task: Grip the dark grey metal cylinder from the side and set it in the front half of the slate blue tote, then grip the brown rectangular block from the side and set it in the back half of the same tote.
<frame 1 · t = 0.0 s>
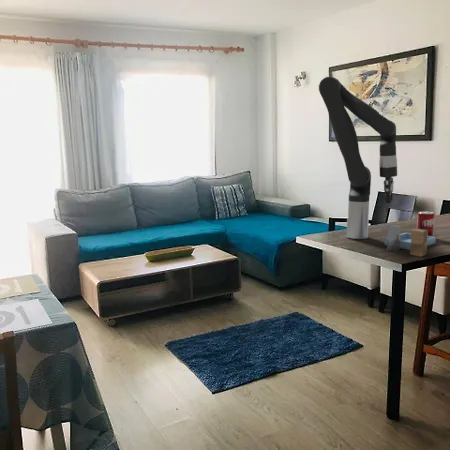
hand: (389, 202, 227), 17 cm above the table, tool pointing down, fingers open, 8 cm apart
tote: (409, 244, 219), on the table
brown rectangular block: (418, 254, 202), on the table
metal cylinder: (393, 249, 210), on the table
soda can: (424, 238, 231), on the table
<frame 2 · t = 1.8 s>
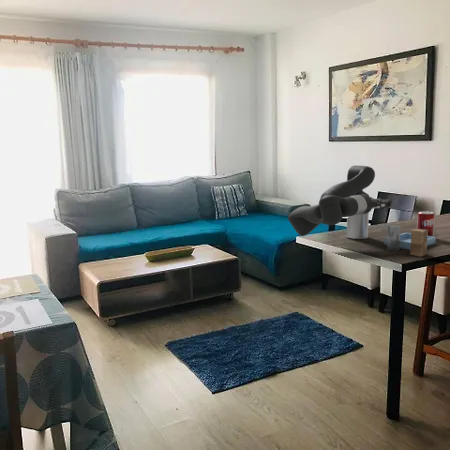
hand: (381, 200, 198), 22 cm above the table, tool horizontal, fingers open, 8 cm apart
nothing on the table moved.
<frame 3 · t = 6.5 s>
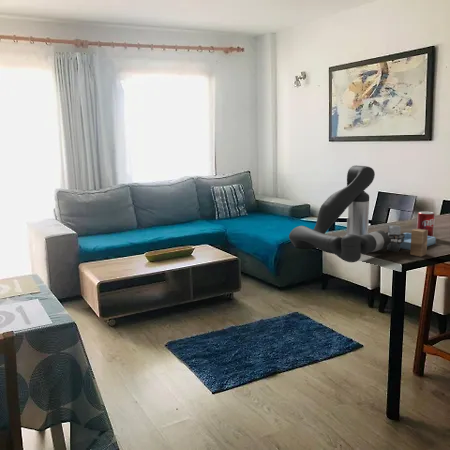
hand: (397, 234, 210), 6 cm above the table, tool horizontal, fingers closed on metal cylinder, 5 cm apart
metal cylinder: (393, 249, 210), on the table, touching gripper
everything else where it was.
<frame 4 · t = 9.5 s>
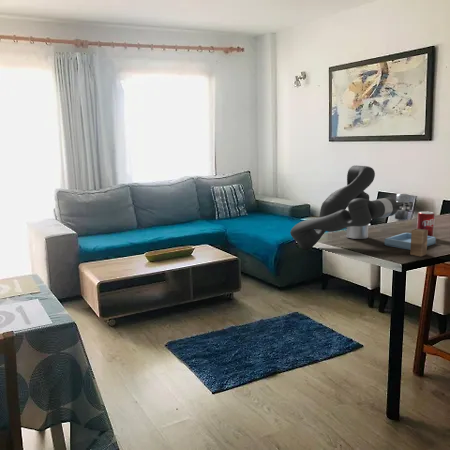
hand: (405, 203, 209), 19 cm above the table, tool horizontal, fingers closed on metal cylinder, 5 cm apart
metal cylinder: (401, 218, 209), point 13 cm above the table, touching gripper
everything else where it was.
when the fingers open (8 cm above the table, at t = 12.6 s): metal cylinder drops 1 cm, resting on tote.
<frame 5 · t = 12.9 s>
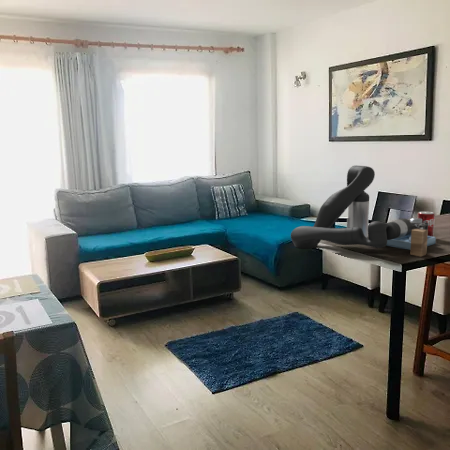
hand: (417, 223, 221), 8 cm above the table, tool horizontal, fingers open, 8 cm apart
metal cylinder: (414, 241, 221), point 1 cm above the table, touching tote
everything else where it was.
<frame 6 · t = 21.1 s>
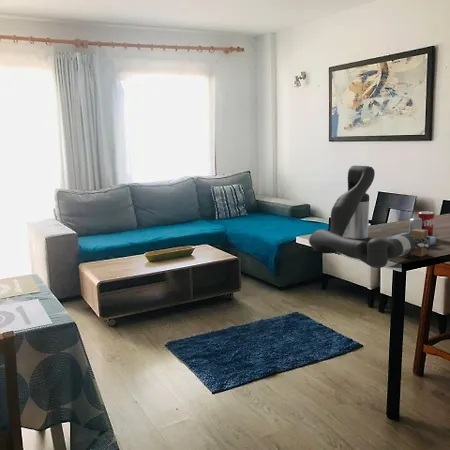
hand: (422, 238, 202), 6 cm above the table, tool horizontal, fingers closed on brown rectangular block, 4 cm apart
brown rectangular block: (418, 254, 202), on the table, touching gripper
everything else where it was.
when the fingers open (8 cm above the table, at t = 26.5 s): brown rectangular block drops 2 cm, resting on tote.
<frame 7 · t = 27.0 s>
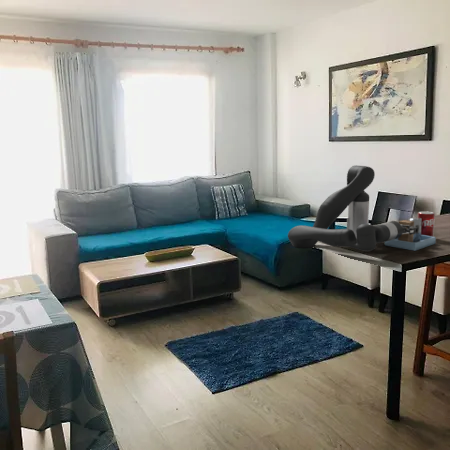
hand: (408, 226, 216), 8 cm above the table, tool horizontal, fingers open, 8 cm apart
brown rectangular block: (405, 244, 216), point 1 cm above the table, touching tote
everything else where it was.
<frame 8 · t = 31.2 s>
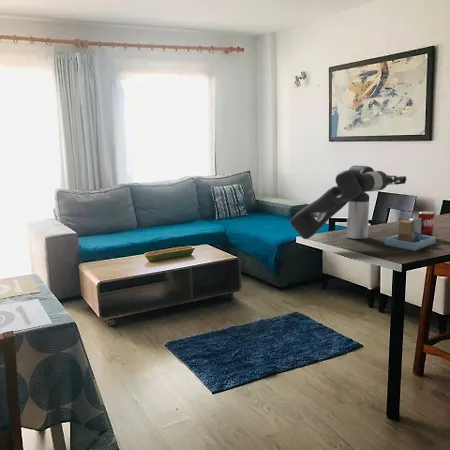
hand: (395, 178, 203), 30 cm above the table, tool horizontal, fingers open, 8 cm apart
nothing on the table moved.
at the end: metal cylinder inside the target area on the tote (3.9 cm from its centre), point 0.9 cm above the tote's base; brown rectangular block inside the target area on the tote (4.0 cm from its centre), point 0.8 cm above the tote's base; the gripper is holding nothing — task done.
